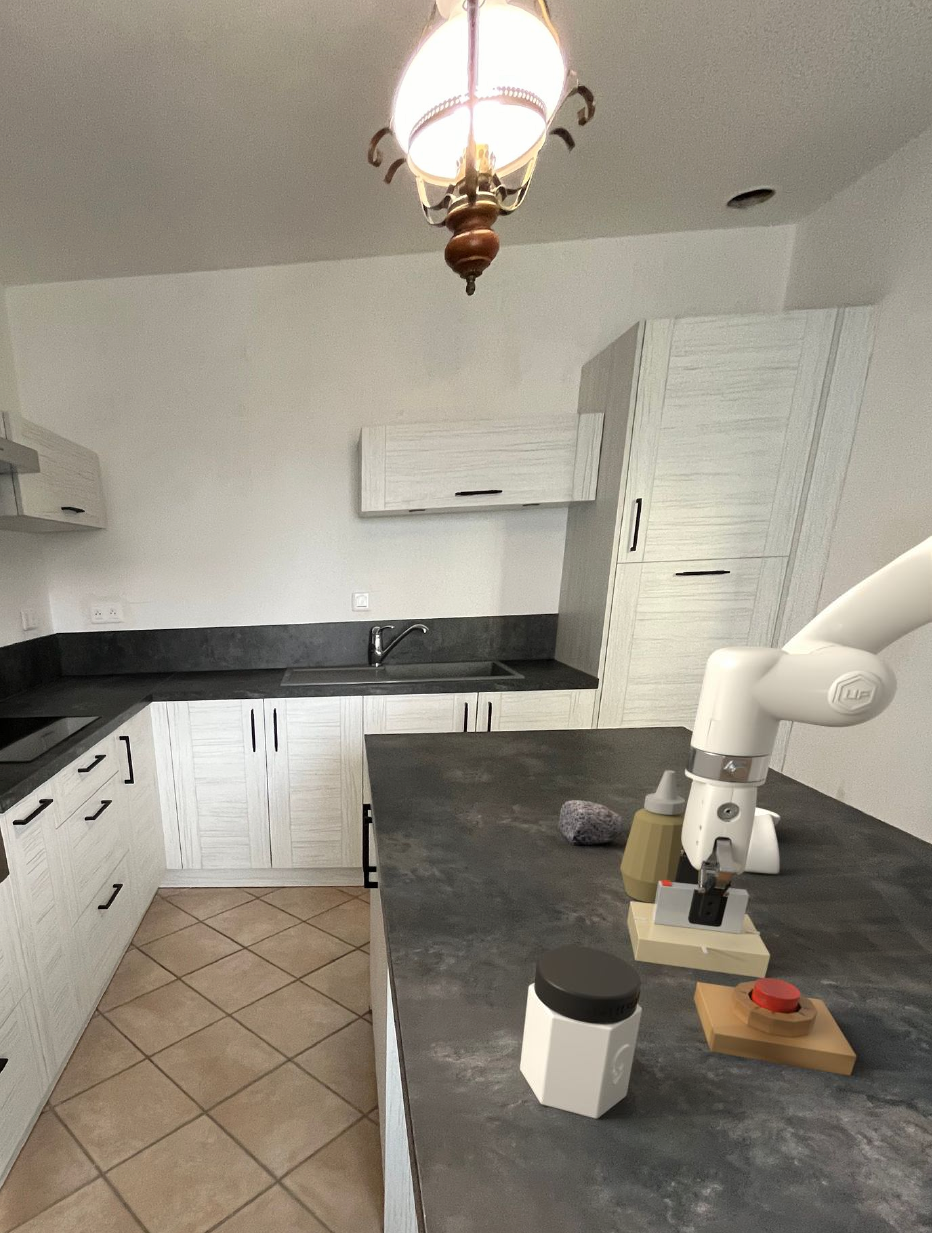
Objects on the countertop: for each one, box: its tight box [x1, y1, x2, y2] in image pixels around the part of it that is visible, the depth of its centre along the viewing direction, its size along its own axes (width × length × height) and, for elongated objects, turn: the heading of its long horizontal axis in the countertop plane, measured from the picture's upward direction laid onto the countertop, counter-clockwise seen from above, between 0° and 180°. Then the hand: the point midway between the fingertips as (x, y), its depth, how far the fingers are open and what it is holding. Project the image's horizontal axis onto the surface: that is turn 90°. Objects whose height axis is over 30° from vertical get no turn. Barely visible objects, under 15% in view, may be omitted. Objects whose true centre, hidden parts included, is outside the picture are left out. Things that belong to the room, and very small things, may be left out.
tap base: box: [626, 900, 771, 979], centre depth 82 cm, size 13×13×3 cm
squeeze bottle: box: [619, 769, 686, 904], centre depth 92 cm, size 8×8×18 cm
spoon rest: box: [744, 806, 781, 875], centre depth 109 cm, size 24×12×7 cm, turn 160°
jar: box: [519, 945, 643, 1120], centre depth 60 cm, size 9×8×12 cm
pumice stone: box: [557, 799, 625, 846], centre depth 113 cm, size 10×8×10 cm
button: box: [751, 977, 802, 1014], centre depth 65 cm, size 4×4×2 cm
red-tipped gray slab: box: [652, 880, 750, 934], centre depth 80 cm, size 9×2×5 cm, turn 70°
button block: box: [693, 980, 857, 1076], centre depth 66 cm, size 11×9×4 cm
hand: (695, 904), depth 80 cm, fingers open, 9 cm apart
